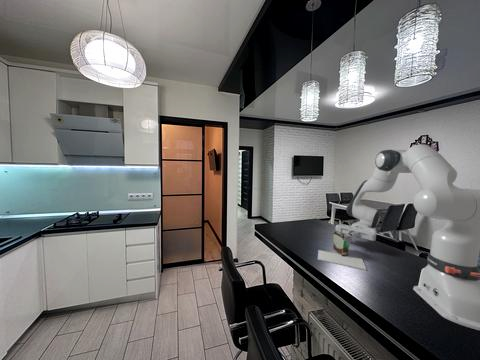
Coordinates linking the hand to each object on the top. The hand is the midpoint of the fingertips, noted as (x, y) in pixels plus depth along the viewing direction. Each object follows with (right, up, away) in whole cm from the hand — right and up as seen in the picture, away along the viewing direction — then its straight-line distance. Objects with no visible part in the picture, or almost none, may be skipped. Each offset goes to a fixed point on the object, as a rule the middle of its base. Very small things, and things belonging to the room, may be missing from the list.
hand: (350, 234), depth 106 cm
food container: (-6, -9, -4) cm, 12 cm away
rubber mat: (-12, -9, -12) cm, 19 cm away
